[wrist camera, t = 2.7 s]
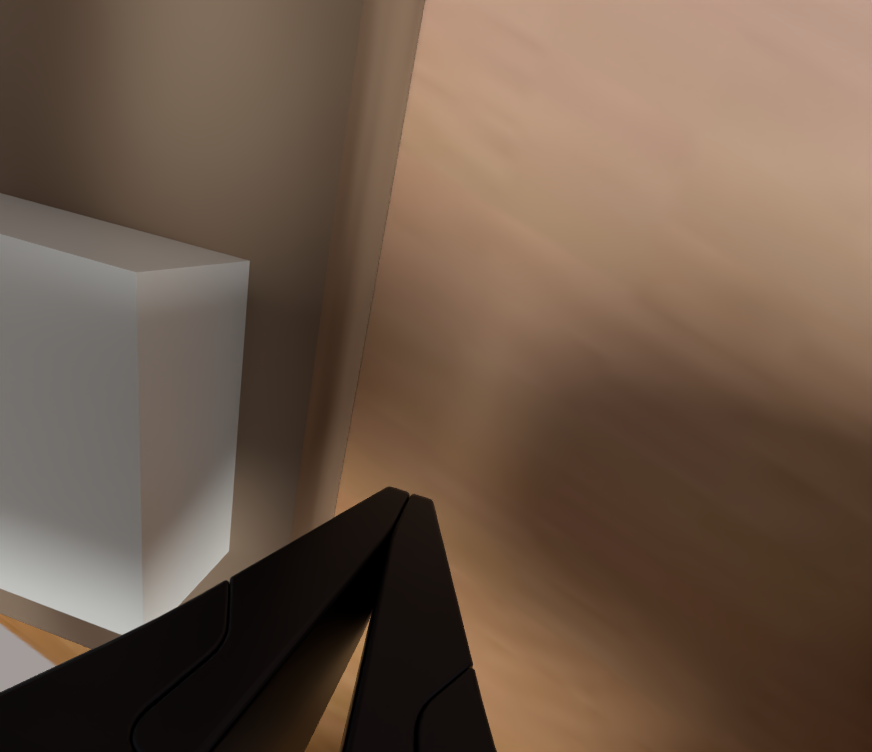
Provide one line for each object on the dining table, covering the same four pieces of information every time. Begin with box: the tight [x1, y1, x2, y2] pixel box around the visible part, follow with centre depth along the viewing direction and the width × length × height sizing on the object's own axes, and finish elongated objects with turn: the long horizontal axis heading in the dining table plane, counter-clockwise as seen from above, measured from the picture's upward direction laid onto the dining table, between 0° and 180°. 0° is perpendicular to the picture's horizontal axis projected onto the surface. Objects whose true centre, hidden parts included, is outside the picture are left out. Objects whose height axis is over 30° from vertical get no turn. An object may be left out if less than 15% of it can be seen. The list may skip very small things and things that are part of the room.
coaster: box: [0, 193, 250, 635], centre depth 8 cm, size 8×7×2 cm
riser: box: [0, 0, 425, 649], centre depth 11 cm, size 11×18×3 cm, turn 167°
